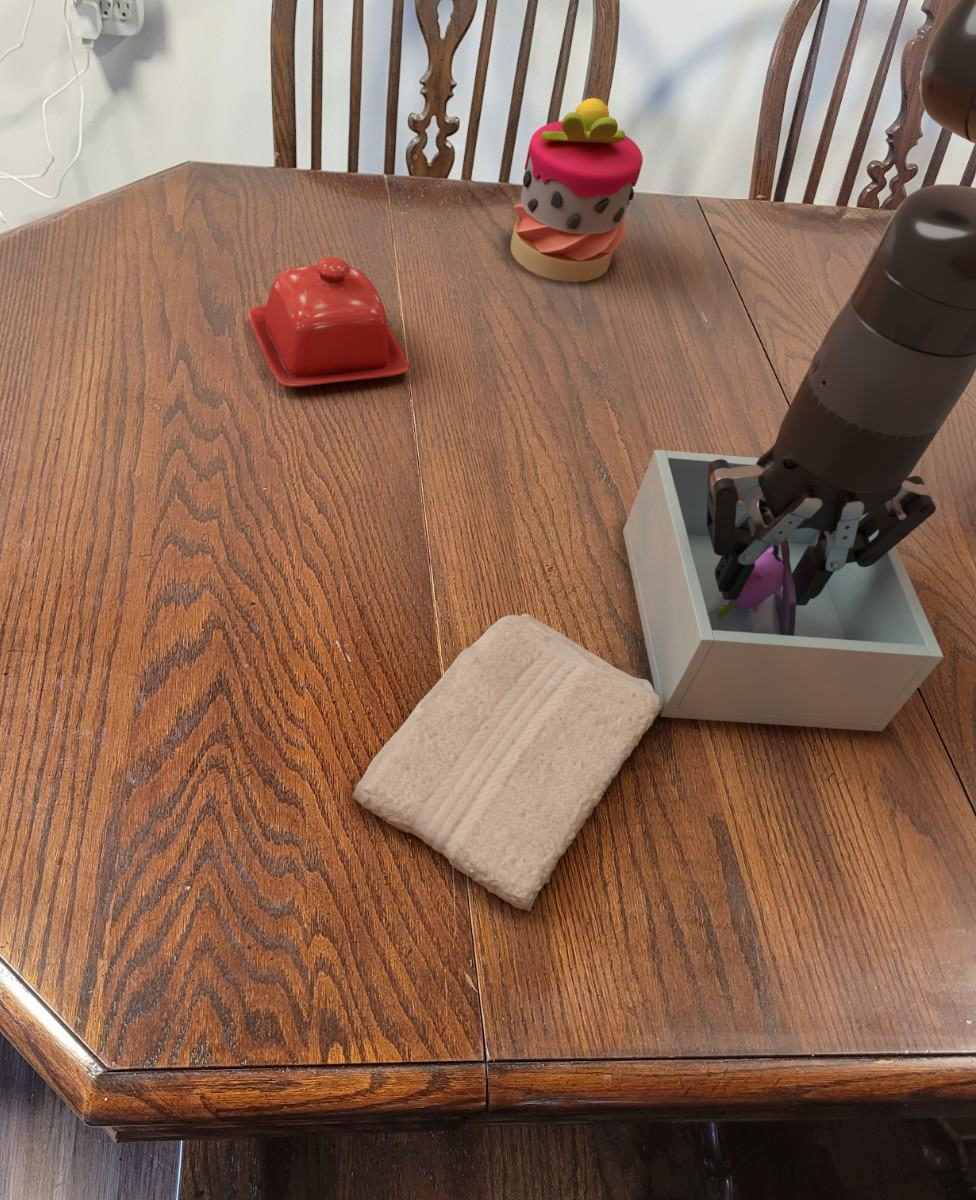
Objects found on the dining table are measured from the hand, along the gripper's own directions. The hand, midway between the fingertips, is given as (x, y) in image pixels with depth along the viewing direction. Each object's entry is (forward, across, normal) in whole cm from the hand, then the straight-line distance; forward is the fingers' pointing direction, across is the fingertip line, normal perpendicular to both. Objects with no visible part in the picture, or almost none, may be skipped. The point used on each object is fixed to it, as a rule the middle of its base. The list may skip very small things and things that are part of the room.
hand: (761, 592), depth 70 cm
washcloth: (+4, -17, -12) cm, 21 cm away
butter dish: (+4, -30, +27) cm, 41 cm away
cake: (+4, -8, +46) cm, 47 cm away
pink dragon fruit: (+2, 0, 0) cm, 2 cm away
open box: (+3, 0, 0) cm, 3 cm away
